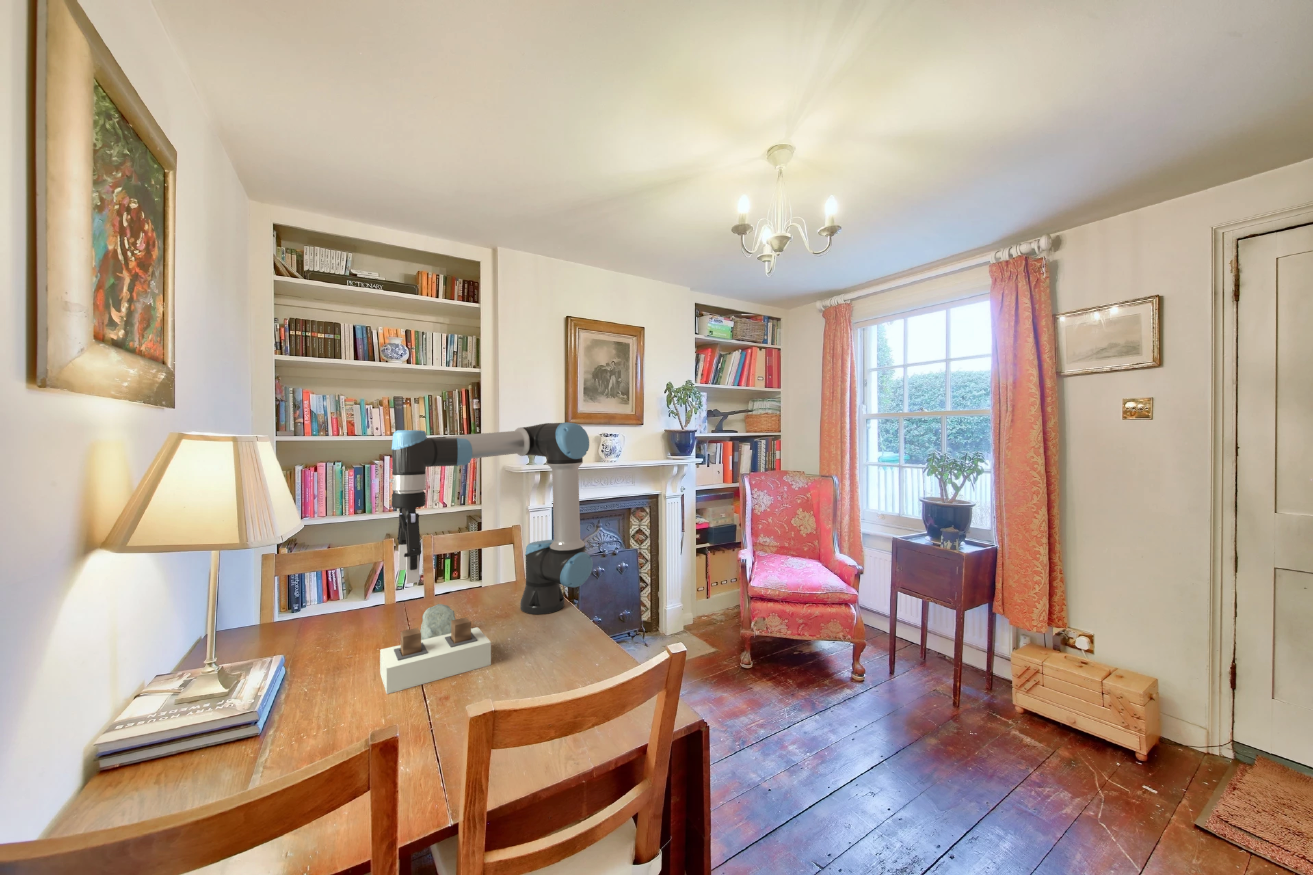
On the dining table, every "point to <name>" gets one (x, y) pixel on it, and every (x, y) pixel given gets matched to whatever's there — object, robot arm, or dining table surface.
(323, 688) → the dining table surface
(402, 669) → the socket block
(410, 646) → the peg
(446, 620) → the decorative stone
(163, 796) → the dining table surface
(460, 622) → the peg
